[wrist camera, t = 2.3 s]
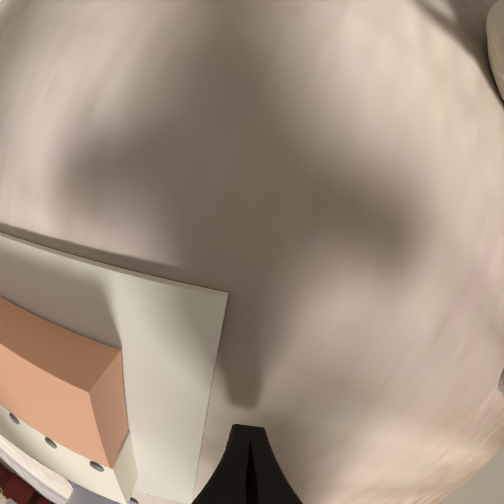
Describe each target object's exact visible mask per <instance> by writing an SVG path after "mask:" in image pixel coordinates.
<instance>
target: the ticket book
mask: <svg viewBox="0 0 504 504" xmlns="http://www.w3.org/2000/svg"><path fill="white" fill-rule="evenodd" d="M0 434H1V435H2V436H3V437H5V438H6V439H7V440H8V441H10V442H11V443H12V444H14V445H15V446H16V447H18V448H19V449H20V450H22V451H23V452H25V453H26V454H27V455H29V456H30V457H32V458H33V459H35V460H36V461H38V462H39V463H41V464H43V465H44V466H46V467H47V468H49V469H51V470H52V471H54V472H56V473H57V474H59V475H61V476H63V477H64V478H66V479H68V480H70V481H72V482H74V483H76V484H78V485H80V486H82V487H84V488H86V489H88V490H90V491H92V492H94V493H97V494H99V495H101V496H104V497H106V498H108V499H111V500H113V501H116V502H118V503H121V504H129V501H130V498H131V495H132V493H133V490H134V487H135V484H136V481H137V479H138V476H139V475H138V471H137V466H136V461H135V456H134V450H133V445H132V439H131V432H130V431H127V433H126V435H125V437H124V439H123V441H122V443H121V446H120V448H119V450H118V452H117V454H116V456H115V458H114V461H113V463H112V465H111V467H110V468H109V467H107V466H105V465H102V464H100V463H98V462H95V461H93V460H91V459H89V458H87V457H85V456H83V455H80V454H78V453H76V452H74V451H73V450H71V449H69V448H67V447H65V446H63V445H61V444H59V443H58V442H56V441H54V440H52V439H51V438H49V437H47V436H46V435H44V434H42V433H41V432H39V431H38V430H36V429H35V428H33V427H32V426H30V425H29V424H27V423H26V422H24V421H23V420H21V419H20V418H18V417H17V416H16V415H14V414H13V413H12V412H10V411H9V410H8V409H6V408H5V407H4V406H2V405H1V404H0Z"/></svg>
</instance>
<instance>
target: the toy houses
mask: <svg viewBox="0 0 504 504" xmlns="http://www.w3.org/2000/svg"><path fill="white" fill-rule="evenodd" d="M0 493H1V494H2V495H1V496H3V497H4V496H5V497H6V498H4V500H5V499H7V500H8V499H9V498H10V499H12V500H13V501H14V502H16V503H17V504H53V503H51V502H50V501H48V500H47V499H45V498H44V497H43V496H39V495H38V494H37V493H35V489H34V488H32V487H31V486H30V485H28V484H27V483H26V482H25V481H23V480H22V479H21V478H20V477H19V476H17V475H16V474H15V473H14V474H12V473H11V472H9V471H8V470H7V469H6V468H5V467H4V466H3V465H2V464H1V463H0ZM1 496H0V497H1ZM3 497H2V498H3ZM0 499H1V498H0ZM5 501H6V500H5ZM5 501H4V502H5ZM4 502H3V503H4Z"/></svg>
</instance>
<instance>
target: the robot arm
mask: <svg viewBox="0 0 504 504" xmlns="http://www.w3.org/2000/svg"><path fill="white" fill-rule="evenodd" d="M67 480H68V479H67ZM68 481H69V483H70V484H71V486H72V487H73V488H74V489H73V491H72V493H71V495H70V497H69V499H68V501H67V503H66V504H121V503H118V502H116V501H113V500H111V499H108V498H106V497H104V496H101V495H99V494H97V493H94V492H92V491H90V490H88V489H86V488H84V487H82V486H80V485H78V484H76V483H74V482H72V481H70V480H68ZM6 504H17V503H16V502H14V501H13V500H12V499H10V498H9V499H8V500H7V502H6ZM129 504H137V503H136V502H133V501H131V500H130V501H129ZM191 504H303V503H302V502H301V501H300V499H299V498H298V497H297V495H296V494H295V492H294V491H293V489H292V488H291V486H290V485H289V483H288V481H287V480H286V478H285V476H284V475H283V473H282V471H281V469H280V467H279V465H278V463H277V460H276V458H275V456H274V454H273V451H272V449H271V446H270V443H269V441H268V438H267V434H266V431H265V429H264V428H262V427H254V426H246V425H240V424H234V425H232V428H231V432H230V435H229V439H228V442H227V446H226V450H225V452H224V454H223V457H222V459H221V461H220V463H219V464H218V466H217V468H216V470H215V471H214V473H213V475H212V476H211V478H210V480H209V481H208V482H207V484H206V485H205V487H204V488H203V489H202V491H201V492H200V493H199V495H198V496H197V497H196V498H195V500H194V501H193V502H192V503H191Z"/></svg>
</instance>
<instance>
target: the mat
mask: <svg viewBox="0 0 504 504" xmlns="http://www.w3.org/2000/svg"><path fill="white" fill-rule="evenodd" d="M228 294H229V293H227V292H222V291H217V290H213V289H208V288H203V287H199V286H194V285H190V284H185V283H181V282H177V281H172V280H168V279H164V278H160V277H155V276H151V275H147V274H143V273H139V272H135V271H131V270H127V269H123V268H119V267H116V266H112V265H108V264H104V263H101V262H97V261H93V260H90V259H86V258H82V257H79V256H75V255H72V254H68V253H65V252H62V251H58V250H55V249H52V248H48V247H45V246H42V245H39V244H35V243H32V242H29V241H26V240H23V239H20V238H17V237H14V236H11V235H8V234H5V233H2V232H0V297H2V298H4V299H6V300H7V301H9V302H11V303H13V304H15V305H17V306H18V307H20V308H22V309H24V310H26V311H28V312H30V313H32V314H34V315H36V316H38V317H40V318H42V319H44V320H47V321H49V322H51V323H53V324H55V325H58V326H60V327H62V328H64V329H67V330H69V331H71V332H74V333H76V334H79V335H81V336H84V337H86V338H89V339H91V340H94V341H97V342H99V343H102V344H105V345H108V346H111V347H113V348H116V349H119V350H121V358H122V375H123V387H124V397H125V406H126V414H127V422H128V431H130V432H131V439H132V445H133V450H134V456H135V461H136V466H137V471H138V475H139V476H138V479H137V481H136V484H135V487H134V490H137V491H140V492H143V493H146V494H150V495H153V496H156V497H160V498H164V499H168V500H171V501H176V502H180V503H184V504H191V503H192V500H193V494H194V487H195V481H196V474H197V468H198V462H199V456H200V450H201V444H202V438H203V432H204V426H205V420H206V414H207V408H208V402H209V397H210V391H211V385H212V380H213V374H214V369H215V363H216V358H217V352H218V347H219V341H220V336H221V330H222V325H223V320H224V314H225V309H226V304H227V299H228Z"/></svg>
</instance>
